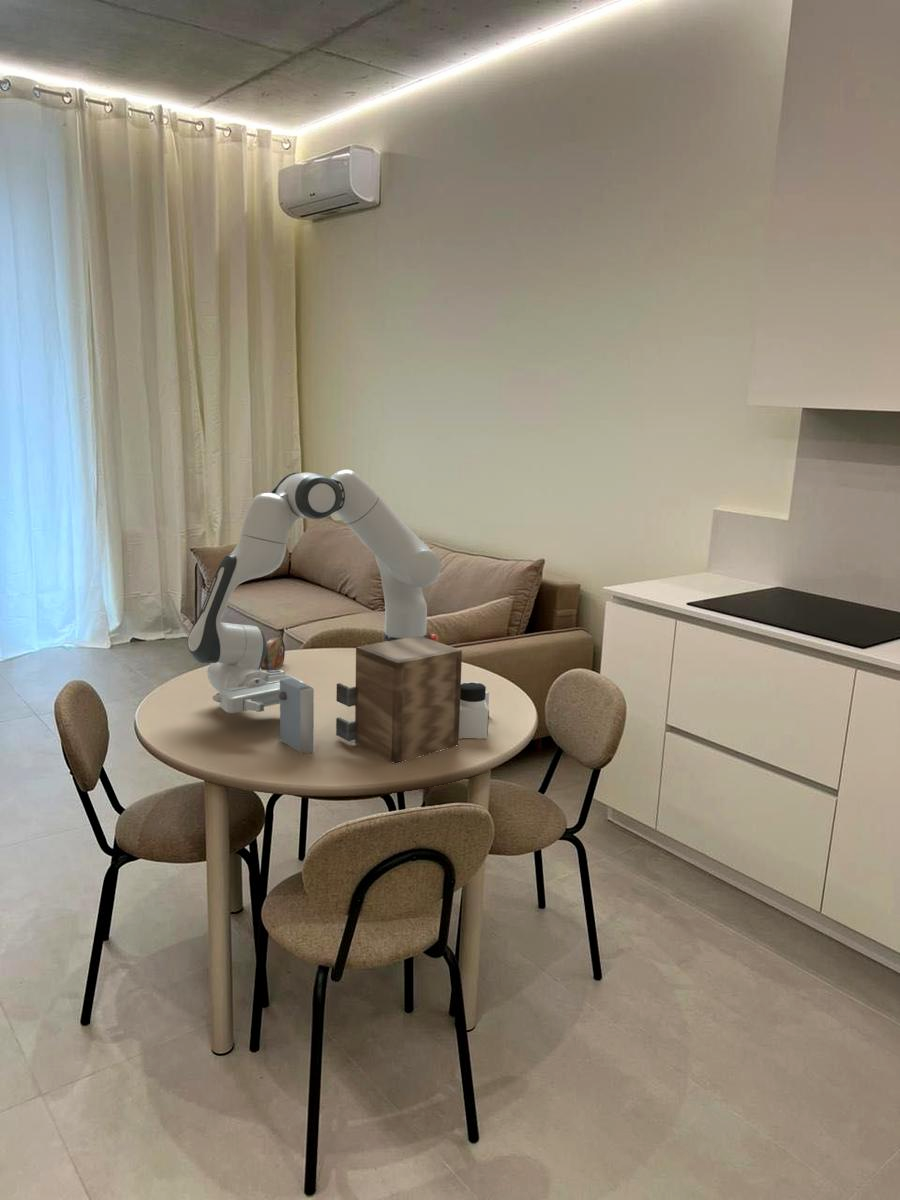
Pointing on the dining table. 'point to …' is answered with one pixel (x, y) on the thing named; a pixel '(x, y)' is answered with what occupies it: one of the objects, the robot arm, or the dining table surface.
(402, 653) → the cabinet
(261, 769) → the dining table surface
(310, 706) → the door
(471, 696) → the medicine bottle
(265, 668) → the tin
